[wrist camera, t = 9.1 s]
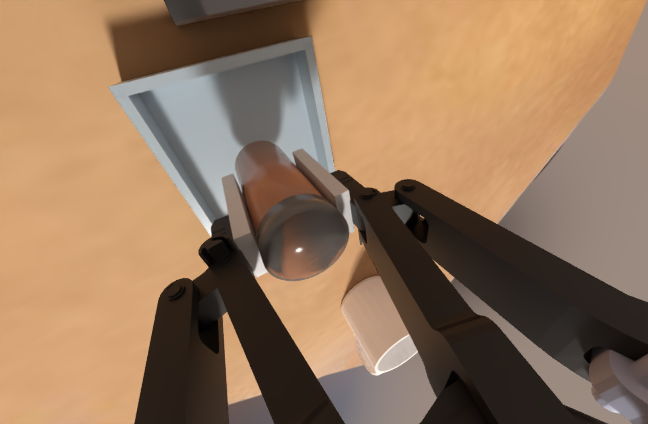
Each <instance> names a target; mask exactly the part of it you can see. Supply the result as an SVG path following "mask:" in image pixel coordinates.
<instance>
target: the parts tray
mask: <svg viewBox="0 0 648 424" xmlns="http://www.w3.org/2000/svg"><path fill="white" fill-rule="evenodd" d="M108 88H109V90H110V91H111V92H112V94H113V95H114V97H115V98H116V100H117V101H118V103H119V104H120V105H121V107H122V108H123V110H124V111H125V113H126V114H127V116H128V117H129V118H130V120H131V121H132V123H133V124H134V126H135V127H136V129H137V130H138V132H139V133H140V134H141V136H142V137H143V139H144V140H145V142H146V143H147V145H148V146H149V147H150V149H151V150H152V152H153V153H154V155H155V156H156V158H157V159H158V160H159V162H160V163H161V165H162V166H163V168H164V169H165V171H166V172H167V173H168V175H169V176H170V178H171V179H172V181H173V182H174V184H175V185H176V187H177V188H178V189H179V191H180V192H181V194H182V195H183V197H184V198H185V200H186V201H187V202H188V204H189V205H190V207H191V208H192V210H193V211H194V213H195V214H196V215H197V217H198V218H199V220H200V221H201V223H202V224H203V226H204V227H205V228H206V230H207V231H208V233H209V234H210V236H211V226H212V224H213V222H214V220H217V219H219V218H222V217H224V216H227V215H228V210H227V204H226V199H225V194H224V189H223V184H222V179H221V178H222V177H225V176H227V175H230V174H233V175H234V177H235V179H236V181H237V183H238V185H239V187H240V183H239V180H238V177H237V174H236V171H235V161H236V157H237V155H238V153H239V152H240V150H241V149H242V148H243V147H245V146H246V145H248V144H249V143H252V142H255V141H268V142H272V143H274V144H276V145H277V146H278V147H280V148H281V149H282V151H283V152H284V153H285V154H286V155H287V156H288V157H289V158H290V160H291V161H292V162H293V163H294V164H295V160H294V157H293V153H292V152H293V151H296V150H299V149H304V150H305V151H306V152H307V153H308V154H309V155H310V156H311V157H312V158H314V159H315V160H316V161H317V162H318V163H319V164H320V165H321V166H322V167H324V168H325V169H326V170H327V171H328V172H329V173H332V172H335V168H334V162H333V156H332V151H331V145H330V139H329V133H328V128H327V122H326V116H325V110H324V105H323V99H322V93H321V87H320V82H319V76H318V70H317V64H316V59H315V53H314V47H313V41H312V36H309V37H302V38H295V39H291V40H287V41H283V42H279V43H275V44H271V45H267V46H263V47H259V48H255V49H251V50H247V51H243V52H239V53H235V54H231V55H227V56H223V57H219V58H215V59H211V60H207V61H203V62H199V63H195V64H191V65H187V66H183V67H179V68H175V69H171V70H167V71H162V72H158V73H154V74H150V75H146V76H142V77H138V78H134V79H130V80H126V81H122V82H119V83H117V84H114V85H112V86H109V87H108ZM295 165H296V164H295ZM240 189H241V187H240ZM241 191H242V190H241ZM211 237H212V236H211Z"/></svg>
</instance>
